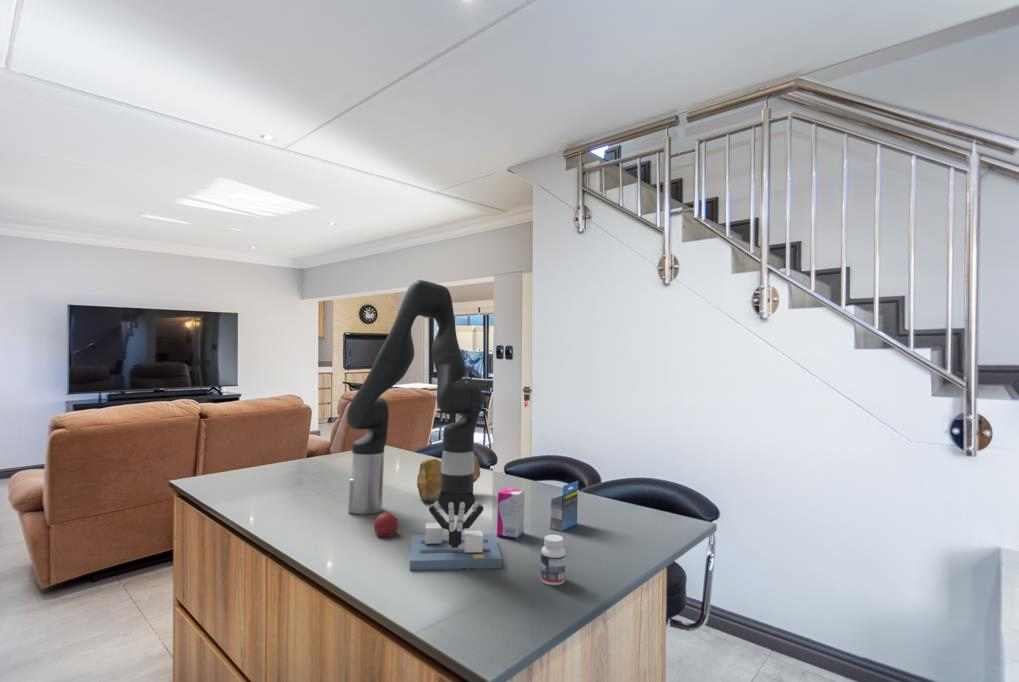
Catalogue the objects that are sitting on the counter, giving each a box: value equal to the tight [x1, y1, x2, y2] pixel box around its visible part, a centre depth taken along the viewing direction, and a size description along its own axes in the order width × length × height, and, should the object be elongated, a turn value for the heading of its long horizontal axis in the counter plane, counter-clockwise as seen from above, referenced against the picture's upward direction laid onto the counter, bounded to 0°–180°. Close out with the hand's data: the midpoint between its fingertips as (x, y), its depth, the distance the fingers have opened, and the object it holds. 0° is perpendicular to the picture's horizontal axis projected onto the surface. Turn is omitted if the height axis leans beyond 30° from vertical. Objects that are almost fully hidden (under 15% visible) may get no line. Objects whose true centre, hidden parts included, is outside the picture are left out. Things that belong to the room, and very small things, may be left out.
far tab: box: [424, 522, 444, 544], centre depth 123 cm, size 4×4×4 cm
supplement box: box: [496, 487, 526, 540], centre depth 135 cm, size 6×6×12 cm
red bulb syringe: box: [371, 512, 399, 538], centre depth 132 cm, size 6×6×8 cm
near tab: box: [463, 530, 484, 552], centre depth 118 cm, size 4×4×4 cm
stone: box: [416, 454, 481, 503], centre depth 172 cm, size 23×17×15 cm
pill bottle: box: [539, 534, 567, 586], centre depth 108 cm, size 5×5×9 cm
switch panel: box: [409, 533, 503, 571], centre depth 120 cm, size 20×16×2 cm
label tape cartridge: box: [550, 480, 579, 532], centre depth 143 cm, size 9×4×12 cm, turn 145°
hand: (454, 546), depth 117 cm, fingers closed
